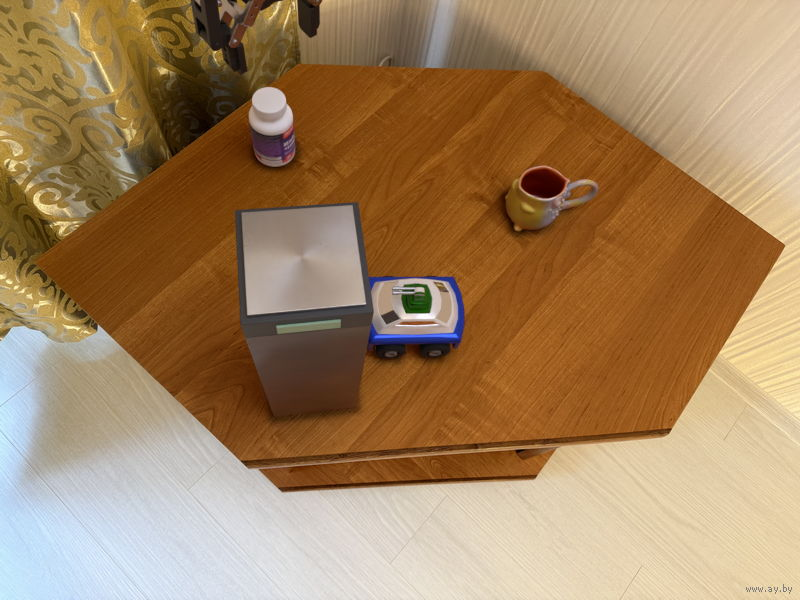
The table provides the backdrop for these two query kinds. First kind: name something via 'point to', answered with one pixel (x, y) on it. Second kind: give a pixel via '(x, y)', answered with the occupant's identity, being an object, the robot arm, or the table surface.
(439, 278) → the toy car
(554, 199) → the mug
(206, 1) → the robot arm
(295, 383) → the tall grey box
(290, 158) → the pill bottle
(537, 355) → the table surface
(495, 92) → the table surface
